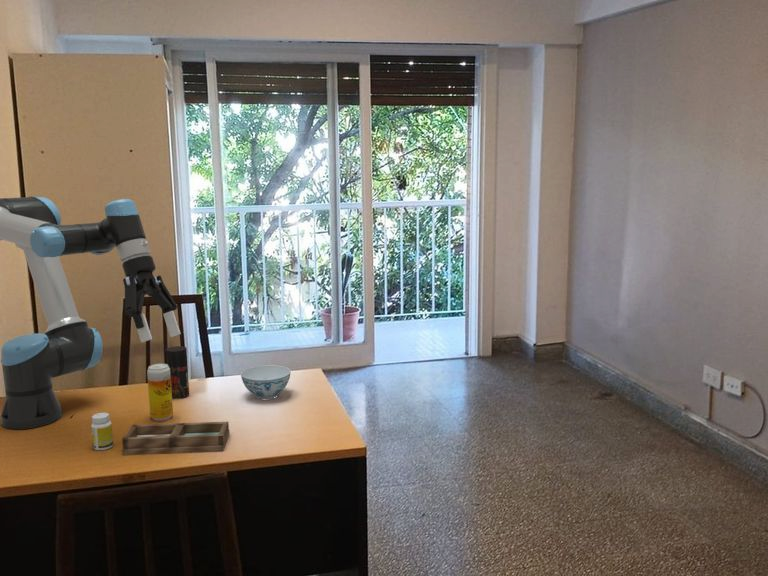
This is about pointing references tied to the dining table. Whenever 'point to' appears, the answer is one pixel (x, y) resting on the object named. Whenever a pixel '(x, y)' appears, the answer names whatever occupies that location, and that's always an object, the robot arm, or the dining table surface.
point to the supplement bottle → (102, 431)
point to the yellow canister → (160, 392)
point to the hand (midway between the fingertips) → (161, 338)
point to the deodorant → (178, 371)
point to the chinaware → (266, 380)
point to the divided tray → (176, 438)
